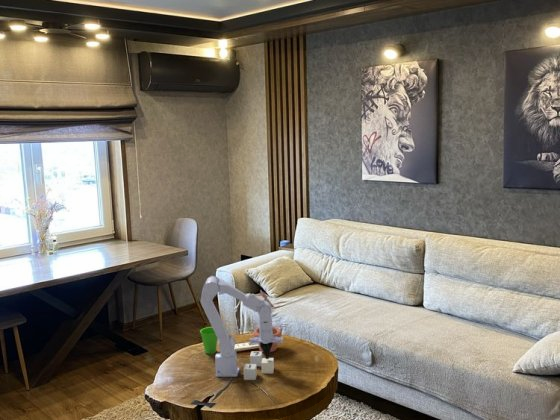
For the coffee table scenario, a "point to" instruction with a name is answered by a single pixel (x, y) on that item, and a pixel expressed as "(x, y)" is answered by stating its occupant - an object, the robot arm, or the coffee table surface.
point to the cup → (209, 340)
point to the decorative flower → (276, 331)
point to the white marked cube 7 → (256, 357)
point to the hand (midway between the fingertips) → (267, 358)
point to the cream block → (267, 365)
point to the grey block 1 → (250, 371)
